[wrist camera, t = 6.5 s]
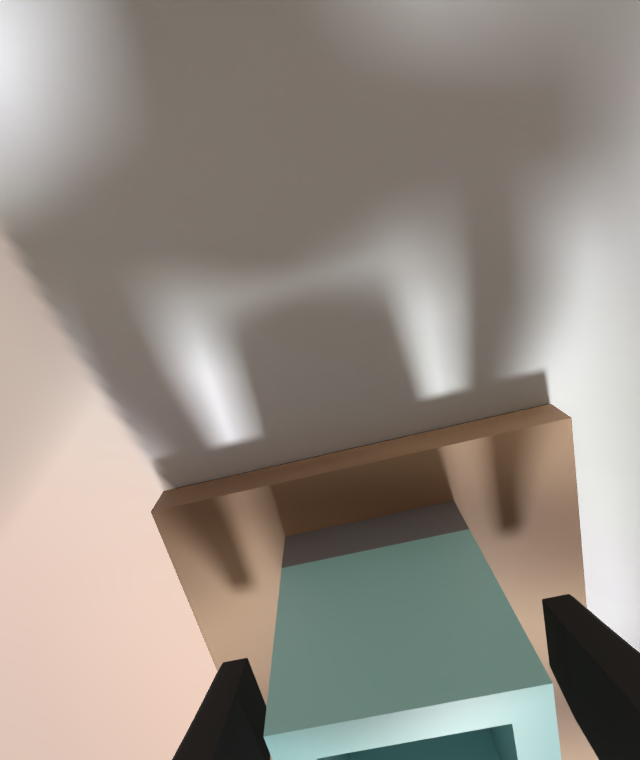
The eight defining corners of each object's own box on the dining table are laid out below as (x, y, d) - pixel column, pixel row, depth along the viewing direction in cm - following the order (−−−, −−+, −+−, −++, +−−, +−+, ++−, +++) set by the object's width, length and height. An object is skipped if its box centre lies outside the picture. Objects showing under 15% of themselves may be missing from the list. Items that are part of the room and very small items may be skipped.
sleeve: (477, 633, 13) (573, 865, 8) (325, 663, 13) (329, 904, 8) (454, 500, 11) (553, 683, 7) (285, 536, 12) (263, 736, 7)
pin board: (590, 826, 17) (658, 969, 14) (316, 871, 18) (316, 1017, 14) (550, 403, 12) (643, 466, 8) (163, 491, 12) (107, 581, 9)
